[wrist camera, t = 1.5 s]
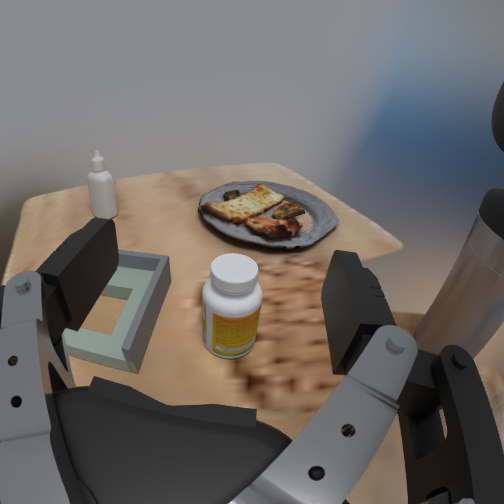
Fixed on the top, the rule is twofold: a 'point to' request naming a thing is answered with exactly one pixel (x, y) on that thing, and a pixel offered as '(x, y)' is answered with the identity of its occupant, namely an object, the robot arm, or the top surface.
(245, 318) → the supplement bottle
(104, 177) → the eye dropper bottle
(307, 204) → the food plate
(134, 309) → the box
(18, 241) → the top surface
